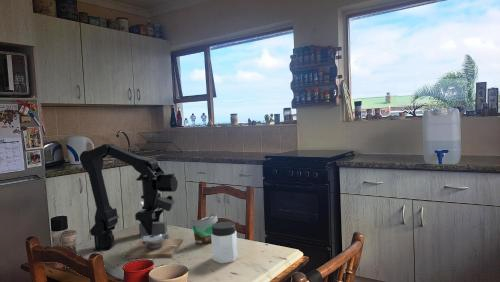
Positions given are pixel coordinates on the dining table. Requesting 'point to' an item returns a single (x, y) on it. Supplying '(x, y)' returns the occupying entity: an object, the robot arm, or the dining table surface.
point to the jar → (224, 242)
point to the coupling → (154, 233)
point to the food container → (204, 229)
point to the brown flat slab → (154, 249)
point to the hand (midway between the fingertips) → (153, 231)
